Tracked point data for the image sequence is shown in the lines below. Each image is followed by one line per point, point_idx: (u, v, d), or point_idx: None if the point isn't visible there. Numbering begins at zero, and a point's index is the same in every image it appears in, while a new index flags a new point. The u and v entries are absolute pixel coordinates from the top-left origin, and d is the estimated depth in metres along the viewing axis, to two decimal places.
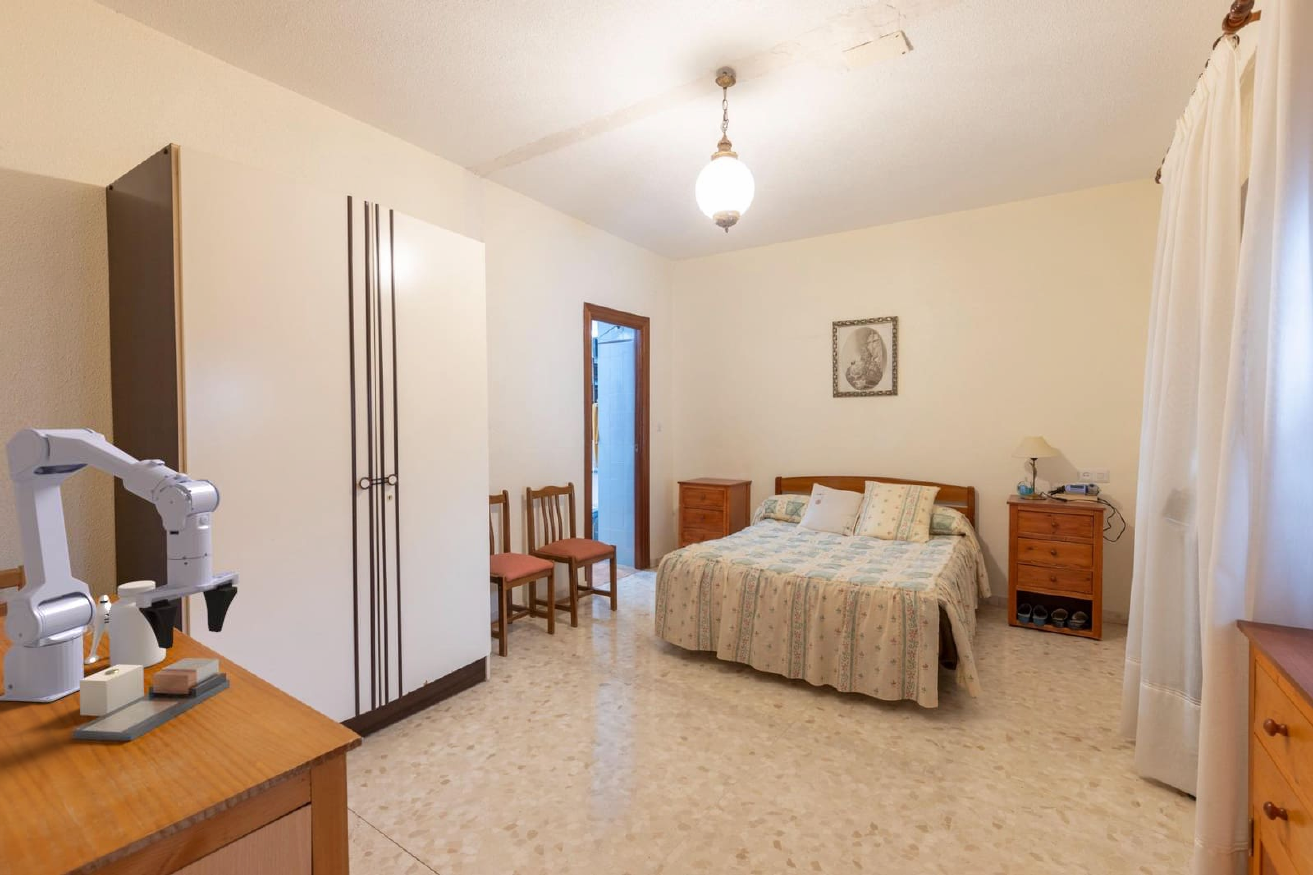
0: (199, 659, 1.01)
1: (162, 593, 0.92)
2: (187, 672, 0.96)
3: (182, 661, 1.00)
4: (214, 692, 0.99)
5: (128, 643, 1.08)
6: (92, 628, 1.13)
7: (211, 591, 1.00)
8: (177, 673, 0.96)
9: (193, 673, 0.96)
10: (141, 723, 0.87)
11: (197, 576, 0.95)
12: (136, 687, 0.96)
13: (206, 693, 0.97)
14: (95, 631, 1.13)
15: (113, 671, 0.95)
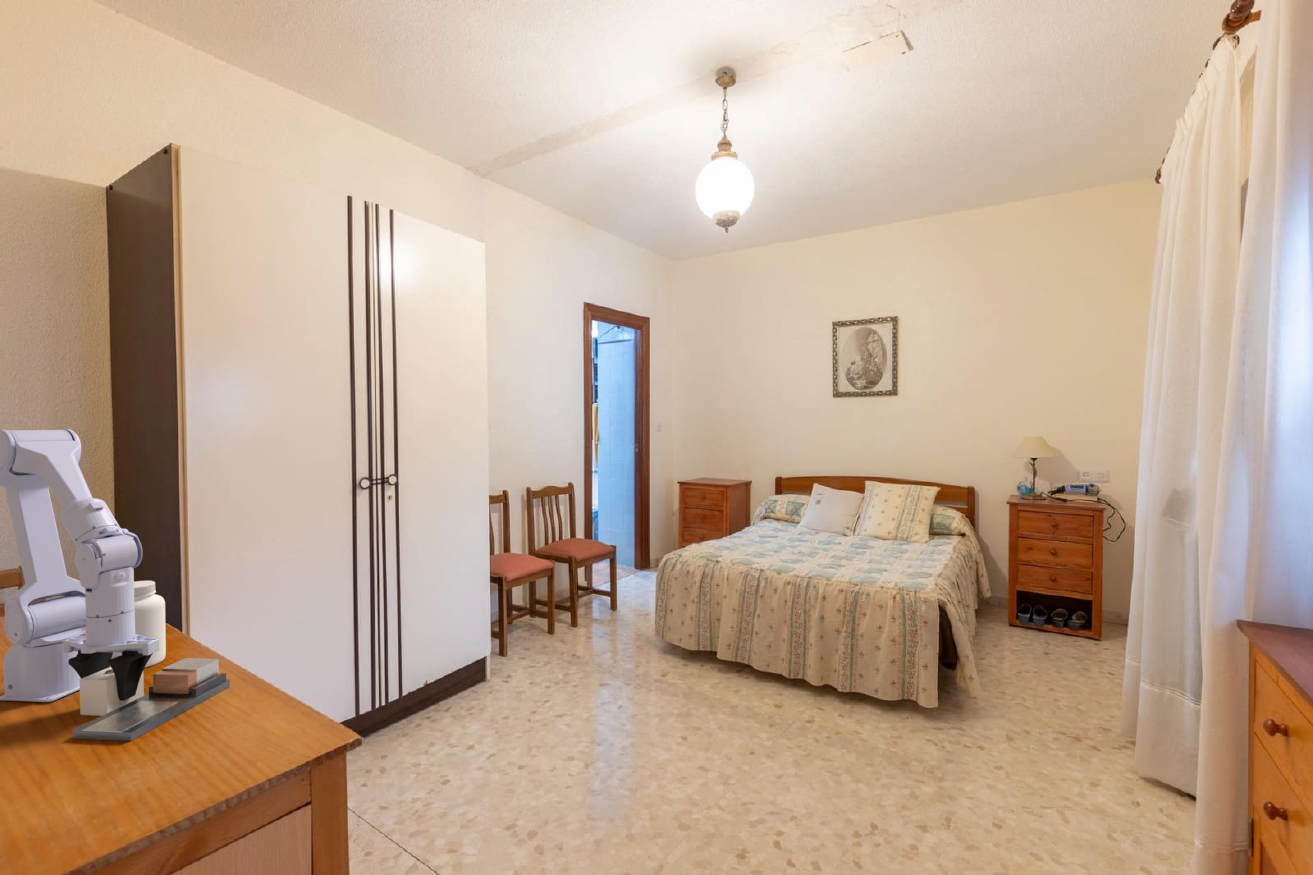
0: (199, 659, 1.01)
1: (73, 643, 0.94)
2: (187, 672, 0.96)
3: (182, 661, 1.00)
4: (214, 692, 0.99)
5: None
6: None
7: None
8: (177, 673, 0.96)
9: (193, 673, 0.96)
10: (141, 723, 0.87)
11: (89, 636, 0.92)
12: None
13: (206, 693, 0.97)
14: None
15: None
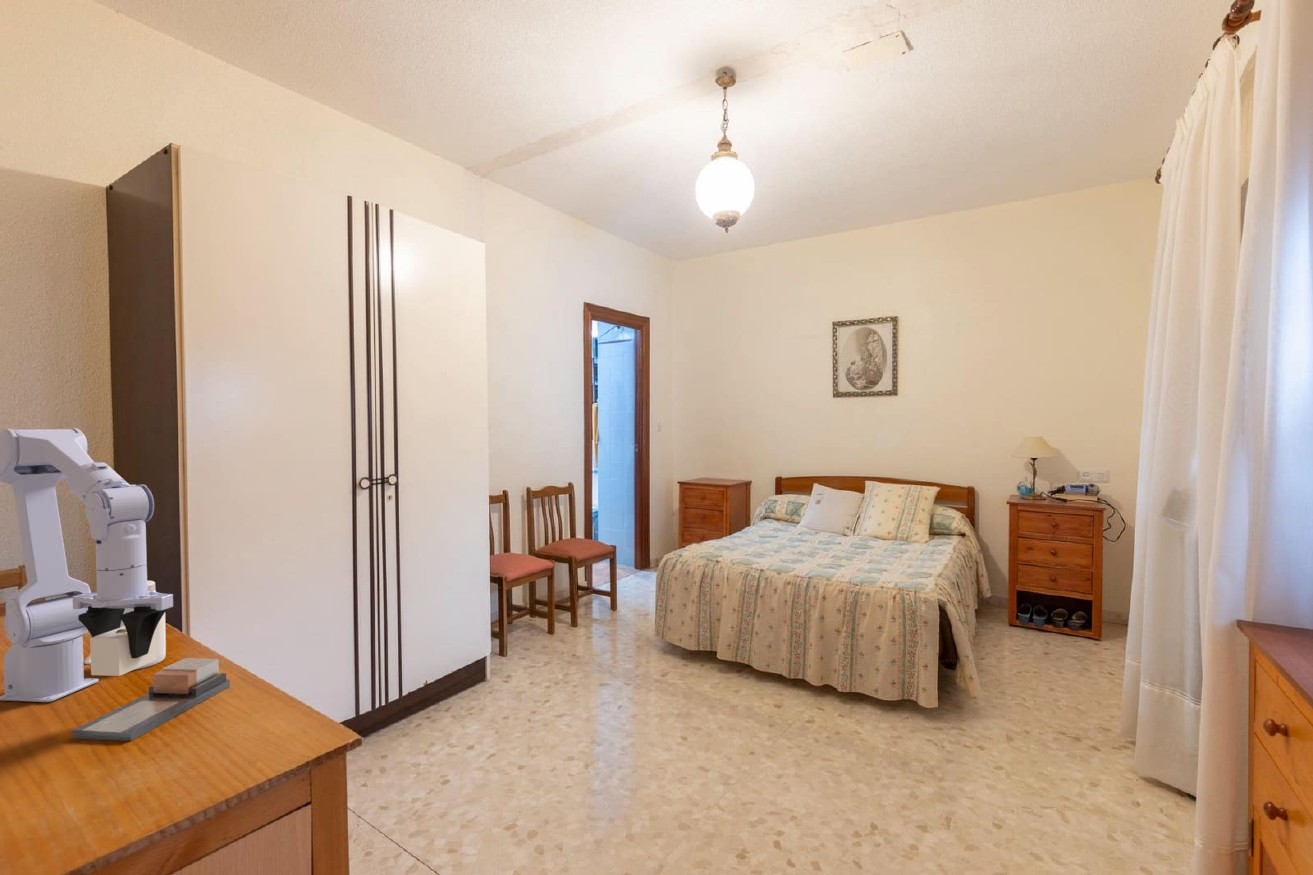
0: (199, 659, 1.01)
1: (82, 599, 0.90)
2: (187, 672, 0.96)
3: (182, 661, 1.00)
4: (214, 692, 0.99)
5: None
6: None
7: None
8: (177, 673, 0.96)
9: (193, 673, 0.96)
10: (141, 723, 0.87)
11: (99, 590, 0.88)
12: None
13: (206, 693, 0.97)
14: None
15: (125, 630, 0.91)
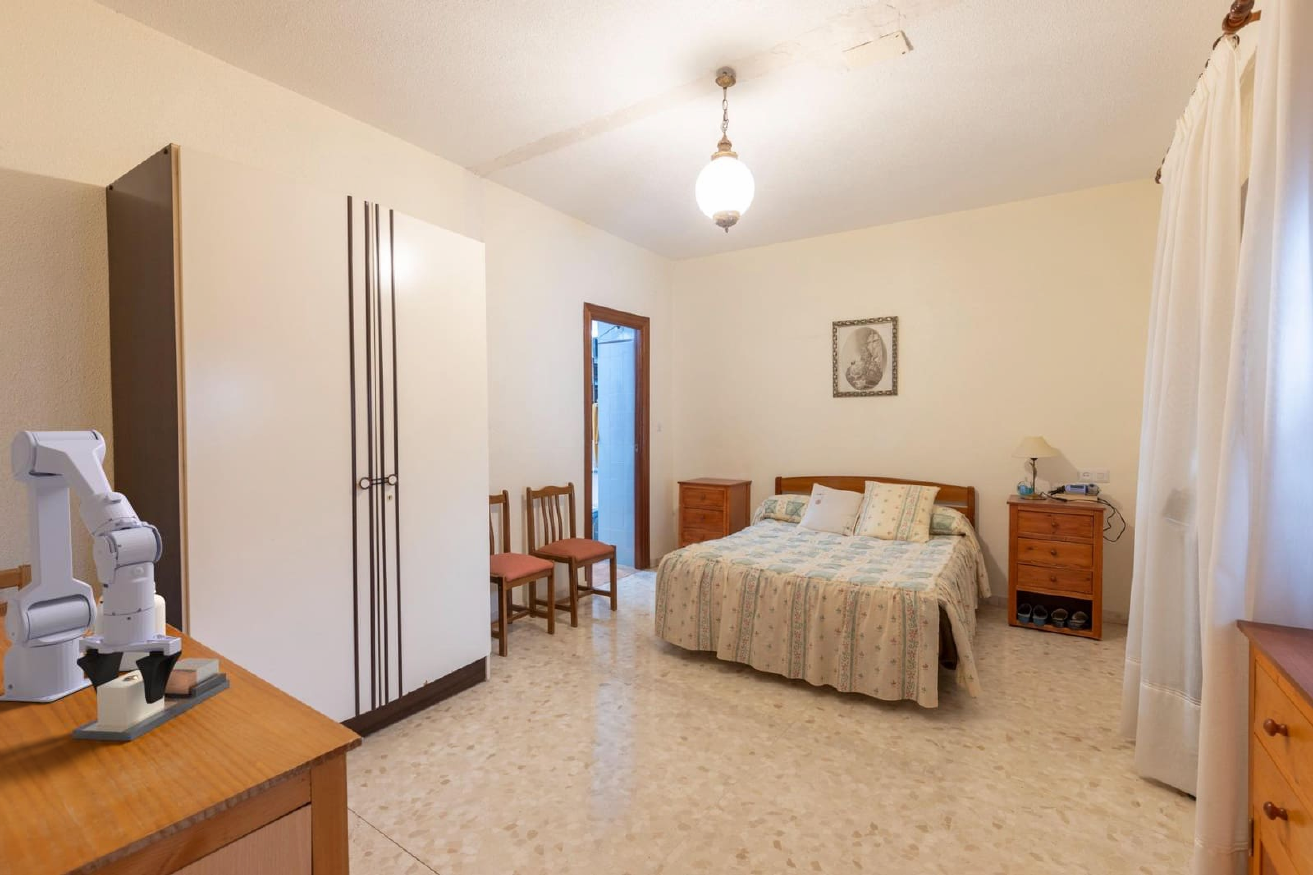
0: (199, 659, 1.01)
1: (89, 643, 0.88)
2: (187, 672, 0.96)
3: (182, 661, 1.00)
4: (214, 692, 0.99)
5: None
6: (92, 628, 1.13)
7: None
8: (177, 673, 0.96)
9: (193, 673, 0.96)
10: (141, 723, 0.87)
11: (107, 635, 0.86)
12: None
13: (206, 693, 0.97)
14: (95, 631, 1.13)
15: (132, 677, 0.89)
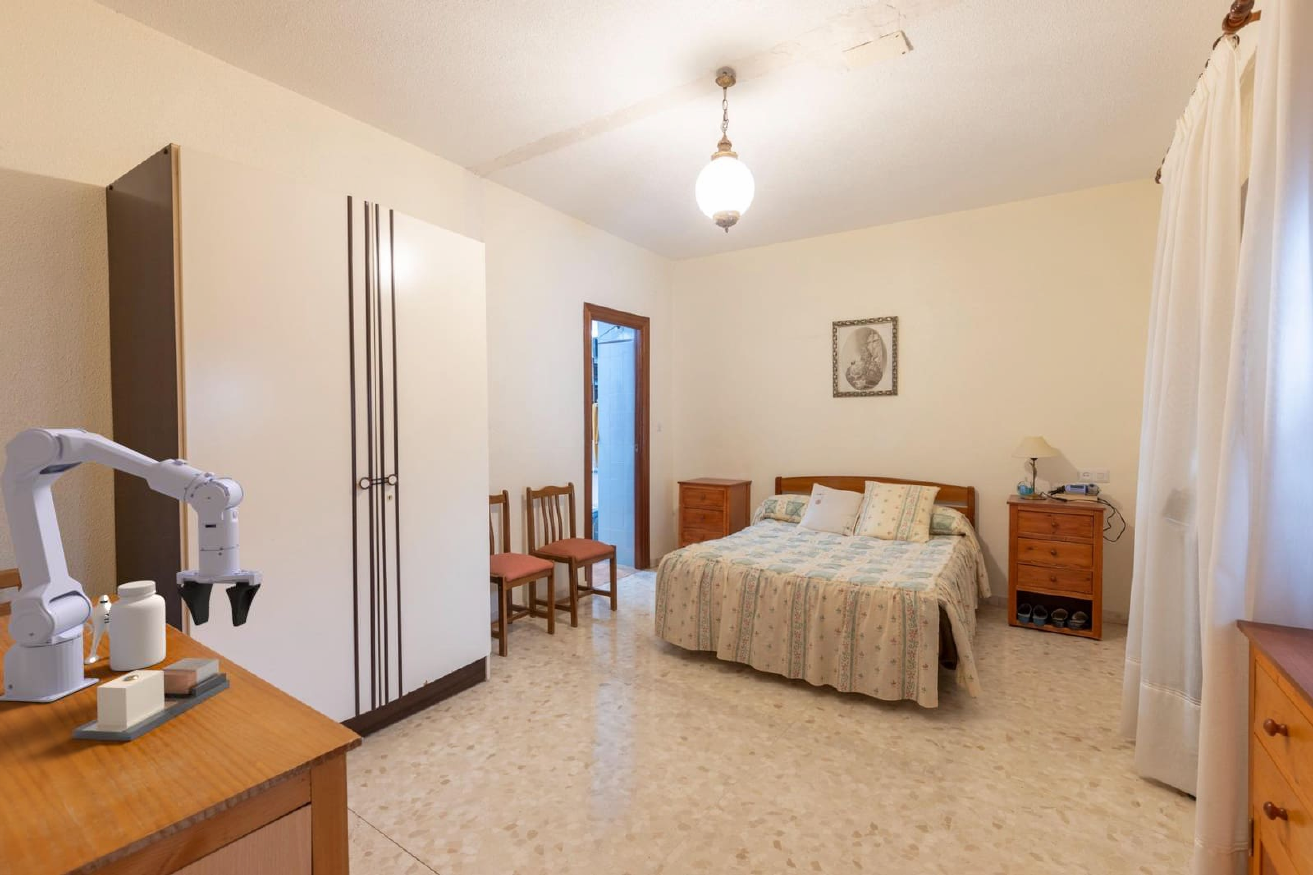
0: (199, 659, 1.01)
1: (186, 575, 1.04)
2: (187, 672, 0.96)
3: (182, 661, 1.00)
4: (214, 692, 0.99)
5: (128, 643, 1.08)
6: (92, 628, 1.13)
7: None
8: (177, 673, 0.96)
9: (193, 673, 0.96)
10: (141, 723, 0.87)
11: (202, 568, 1.02)
12: (156, 694, 0.90)
13: (206, 693, 0.97)
14: (95, 631, 1.13)
15: (132, 677, 0.89)
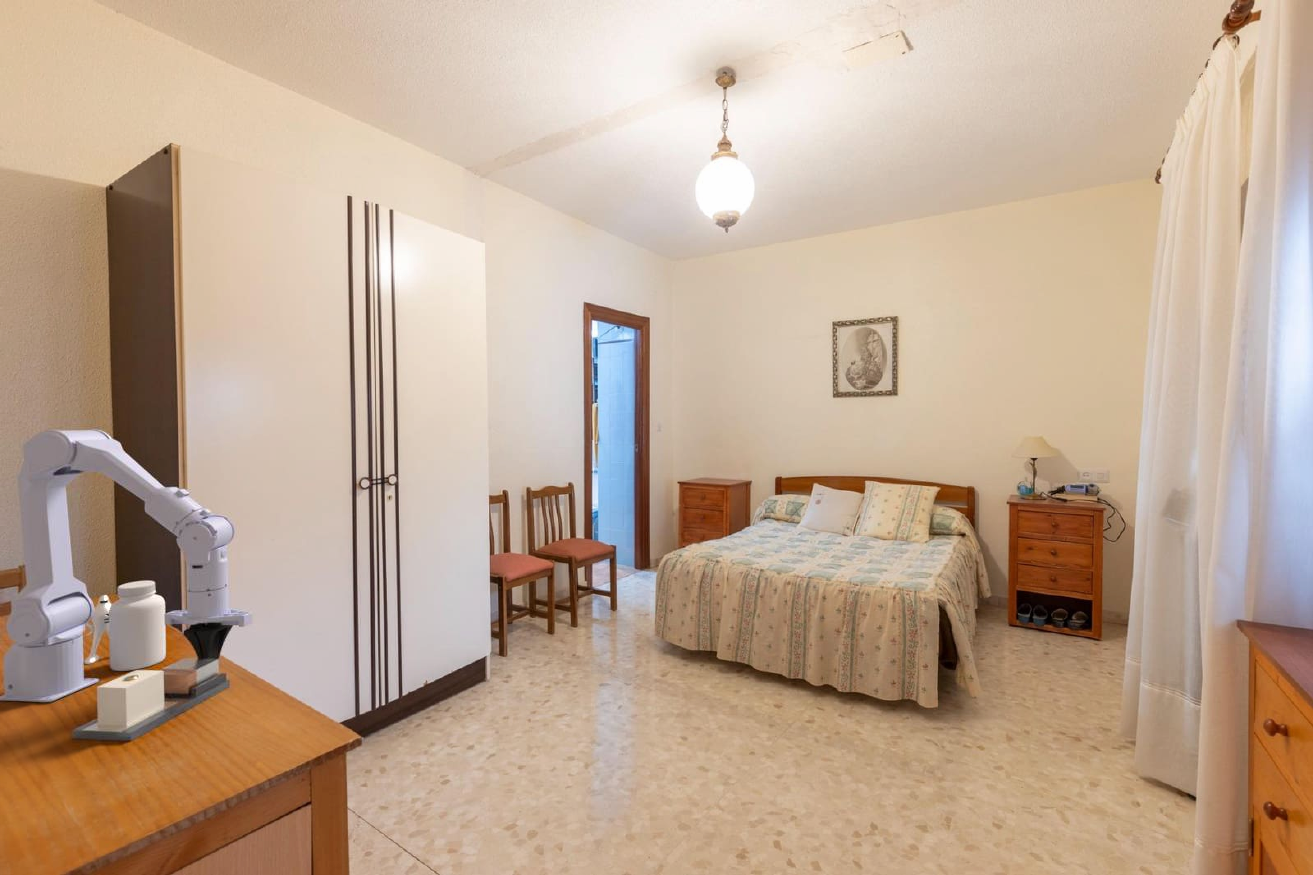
0: (199, 659, 1.01)
1: (174, 616, 1.02)
2: (187, 672, 0.96)
3: (182, 661, 1.00)
4: (214, 692, 0.99)
5: (128, 643, 1.08)
6: (92, 628, 1.13)
7: None
8: (177, 673, 0.96)
9: (193, 673, 0.96)
10: (141, 723, 0.87)
11: (190, 609, 1.00)
12: (156, 694, 0.90)
13: (206, 693, 0.97)
14: (95, 631, 1.13)
15: (132, 677, 0.89)
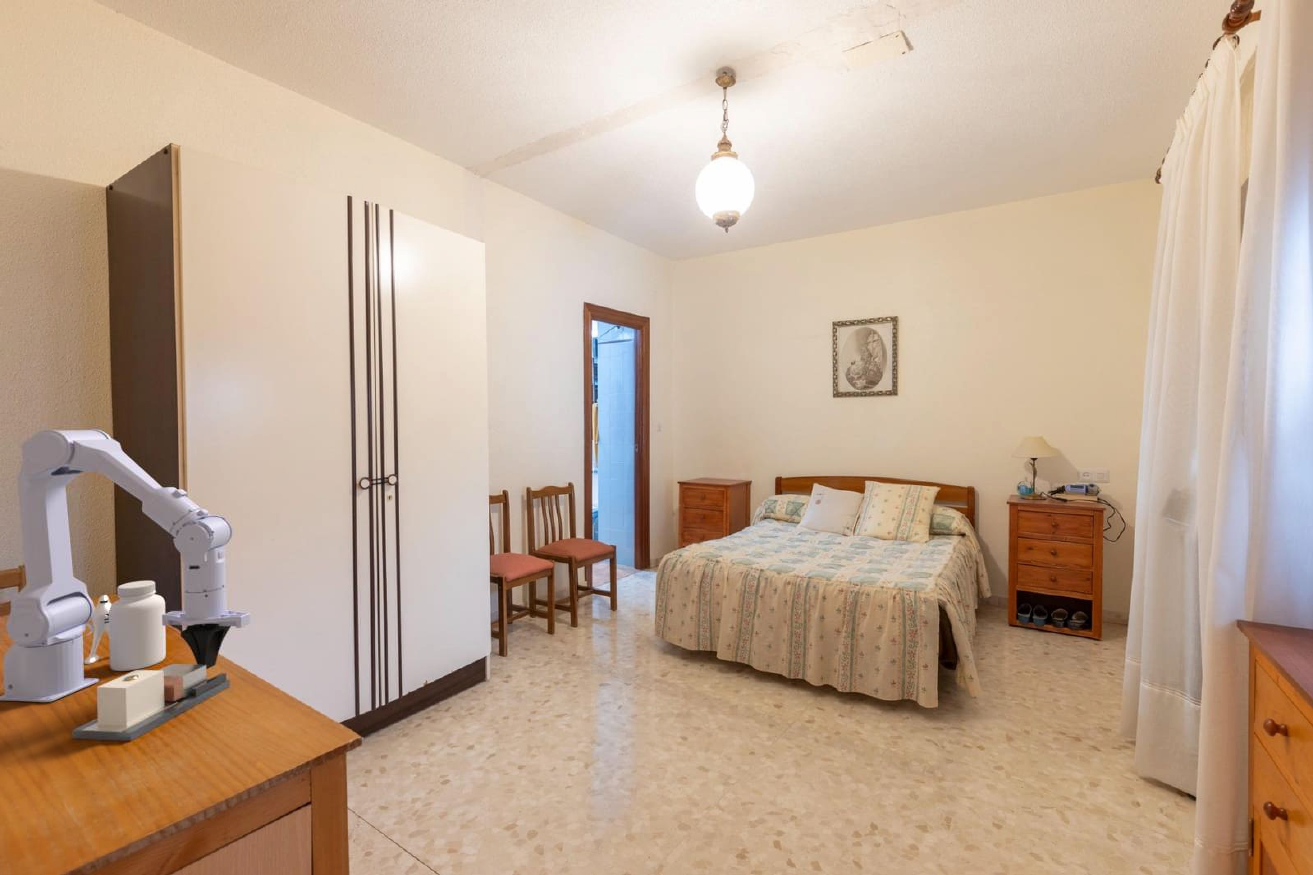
0: (186, 665, 0.98)
1: (171, 617, 1.01)
2: (173, 679, 0.94)
3: (168, 667, 0.98)
4: (214, 692, 0.99)
5: (128, 643, 1.08)
6: (92, 628, 1.13)
7: None
8: None
9: (179, 680, 0.94)
10: (141, 723, 0.87)
11: (187, 610, 0.99)
12: (156, 694, 0.90)
13: (206, 693, 0.97)
14: (95, 631, 1.13)
15: (132, 677, 0.89)
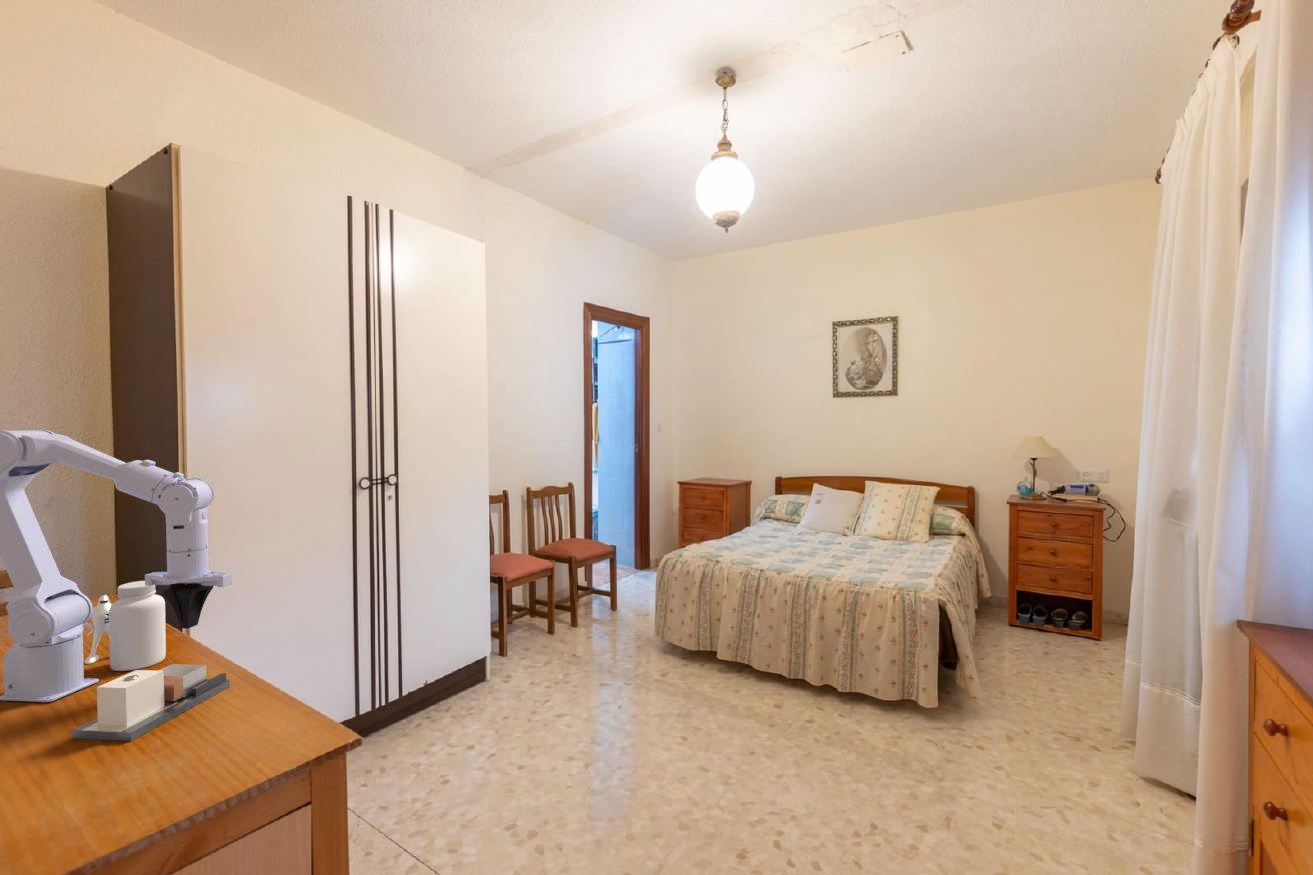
0: (186, 665, 0.98)
1: (154, 577, 1.03)
2: (173, 679, 0.94)
3: (168, 667, 0.98)
4: (214, 692, 0.99)
5: (128, 643, 1.08)
6: (92, 628, 1.13)
7: None
8: None
9: (179, 680, 0.94)
10: (141, 723, 0.87)
11: (170, 569, 1.01)
12: (156, 694, 0.90)
13: (206, 693, 0.97)
14: (95, 631, 1.13)
15: (132, 677, 0.89)
